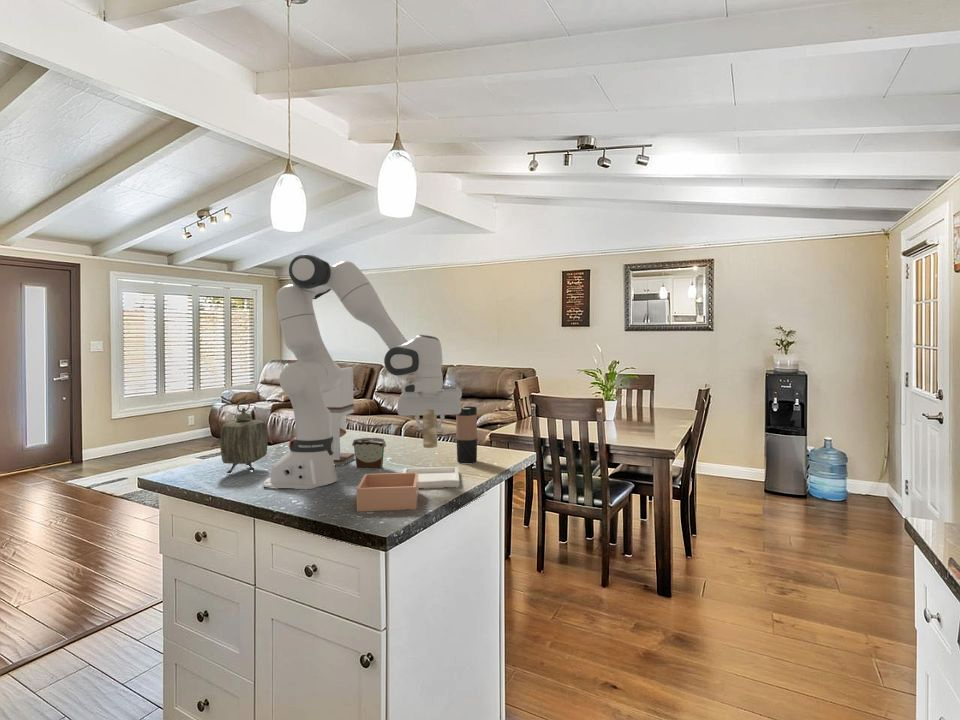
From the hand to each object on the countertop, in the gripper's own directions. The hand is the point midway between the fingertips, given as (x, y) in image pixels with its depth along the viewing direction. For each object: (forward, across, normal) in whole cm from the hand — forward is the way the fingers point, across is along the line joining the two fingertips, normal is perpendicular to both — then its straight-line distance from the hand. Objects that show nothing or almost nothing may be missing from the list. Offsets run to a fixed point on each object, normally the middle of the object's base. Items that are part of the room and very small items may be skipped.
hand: (430, 429), depth 171 cm
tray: (+17, 0, 0) cm, 17 cm away
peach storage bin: (+17, +11, +21) cm, 29 cm away
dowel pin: (+6, 0, 0) cm, 6 cm away
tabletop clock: (+16, +64, -19) cm, 69 cm away
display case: (+16, +36, -31) cm, 50 cm away
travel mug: (+17, -13, -25) cm, 33 cm away
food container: (+17, +21, -21) cm, 34 cm away
